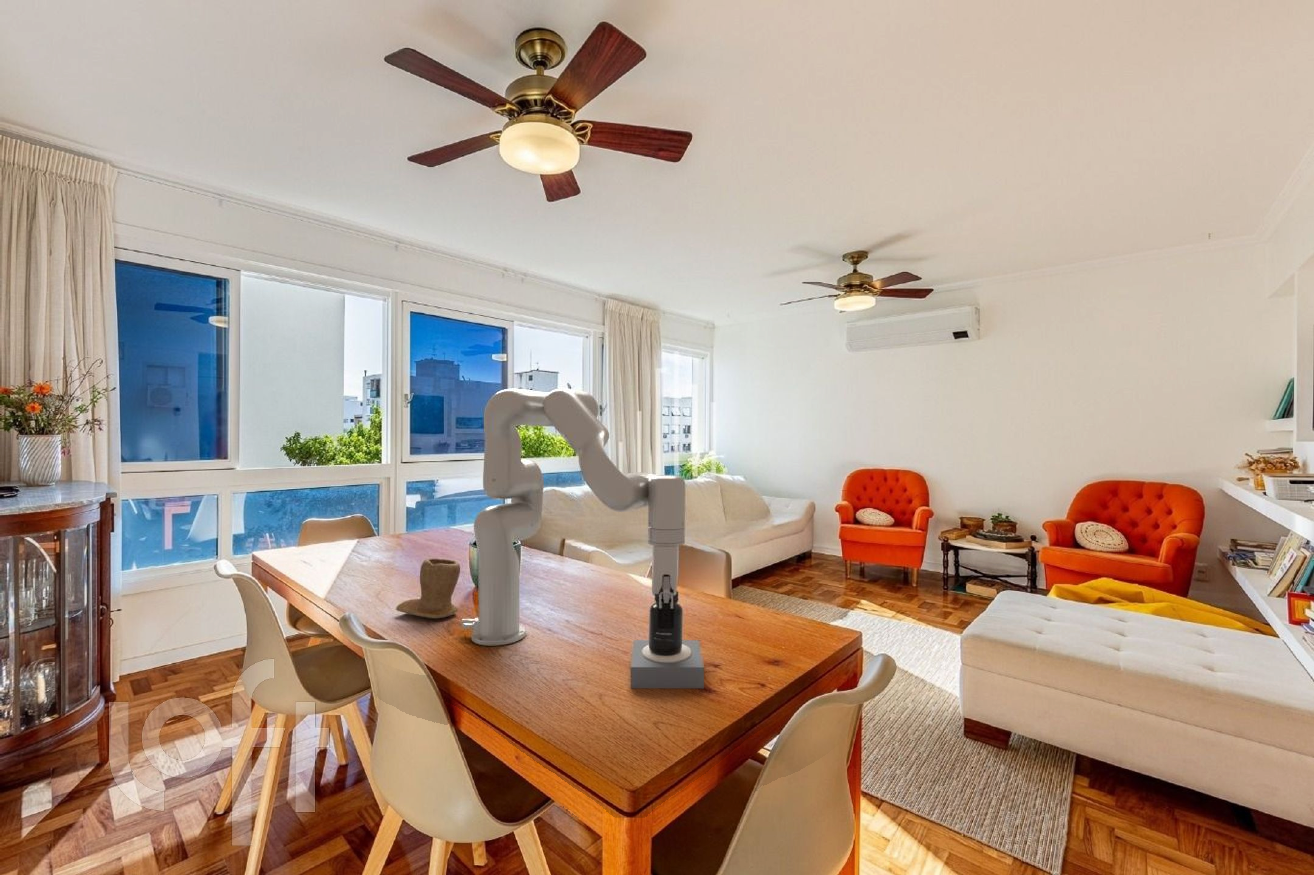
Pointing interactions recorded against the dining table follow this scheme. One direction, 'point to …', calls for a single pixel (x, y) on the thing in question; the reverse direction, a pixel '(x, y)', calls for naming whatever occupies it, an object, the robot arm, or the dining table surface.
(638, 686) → the plinth
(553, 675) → the dining table surface
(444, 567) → the tan flared hollow piece
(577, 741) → the dining table surface
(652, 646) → the supplement bottle
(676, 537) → the robot arm
